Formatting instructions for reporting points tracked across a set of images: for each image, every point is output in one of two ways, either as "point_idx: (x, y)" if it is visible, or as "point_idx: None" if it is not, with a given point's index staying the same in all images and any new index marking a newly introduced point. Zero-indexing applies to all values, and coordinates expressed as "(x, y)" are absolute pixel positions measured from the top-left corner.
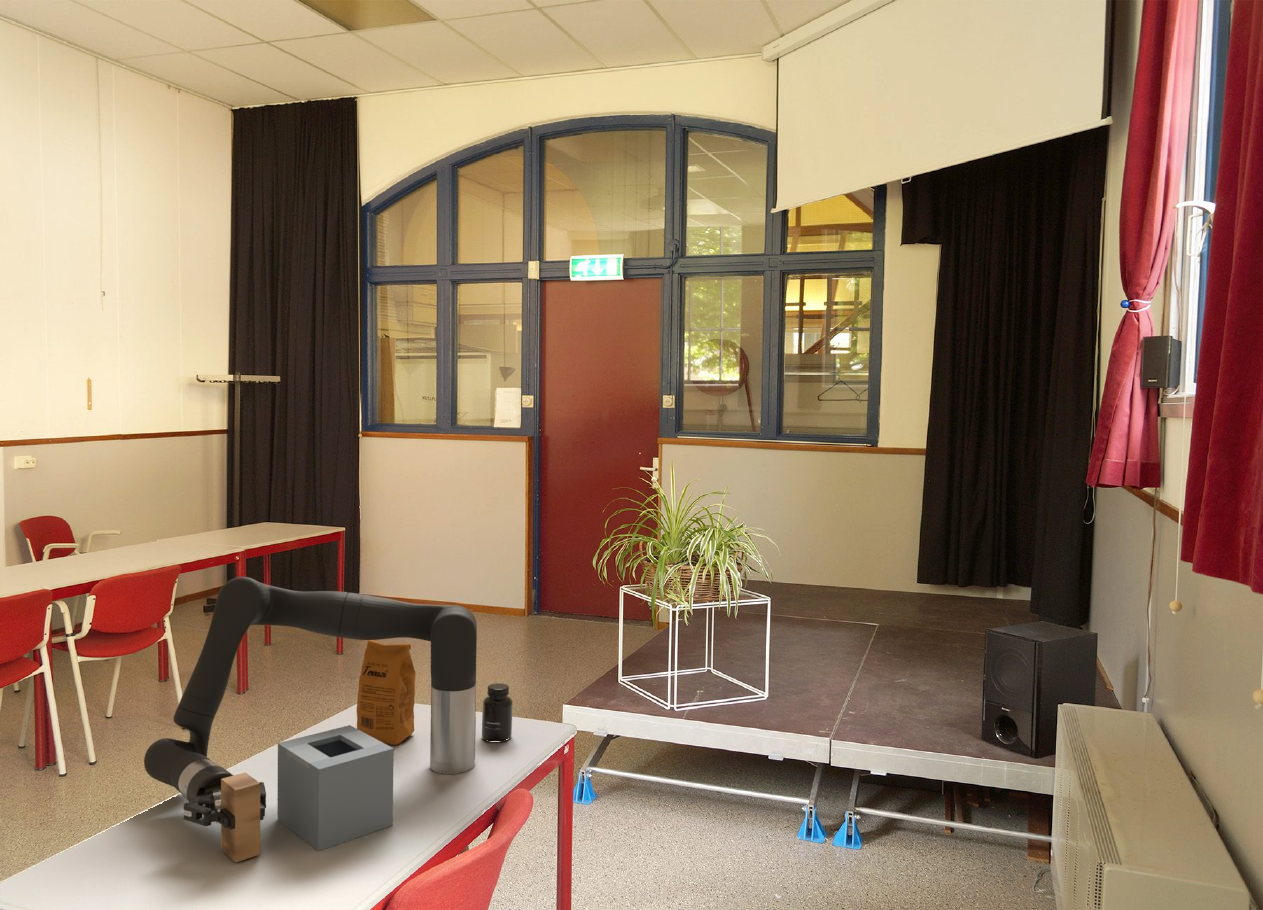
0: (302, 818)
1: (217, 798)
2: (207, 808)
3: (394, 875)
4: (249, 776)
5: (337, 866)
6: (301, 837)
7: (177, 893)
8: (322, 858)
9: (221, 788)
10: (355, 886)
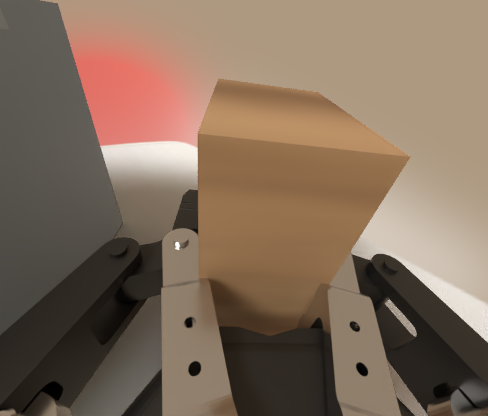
0: (64, 248)
1: (358, 326)
2: (393, 282)
3: (128, 145)
4: (217, 103)
5: (148, 181)
6: None
7: (368, 254)
8: (141, 204)
9: (367, 215)
10: (171, 153)
